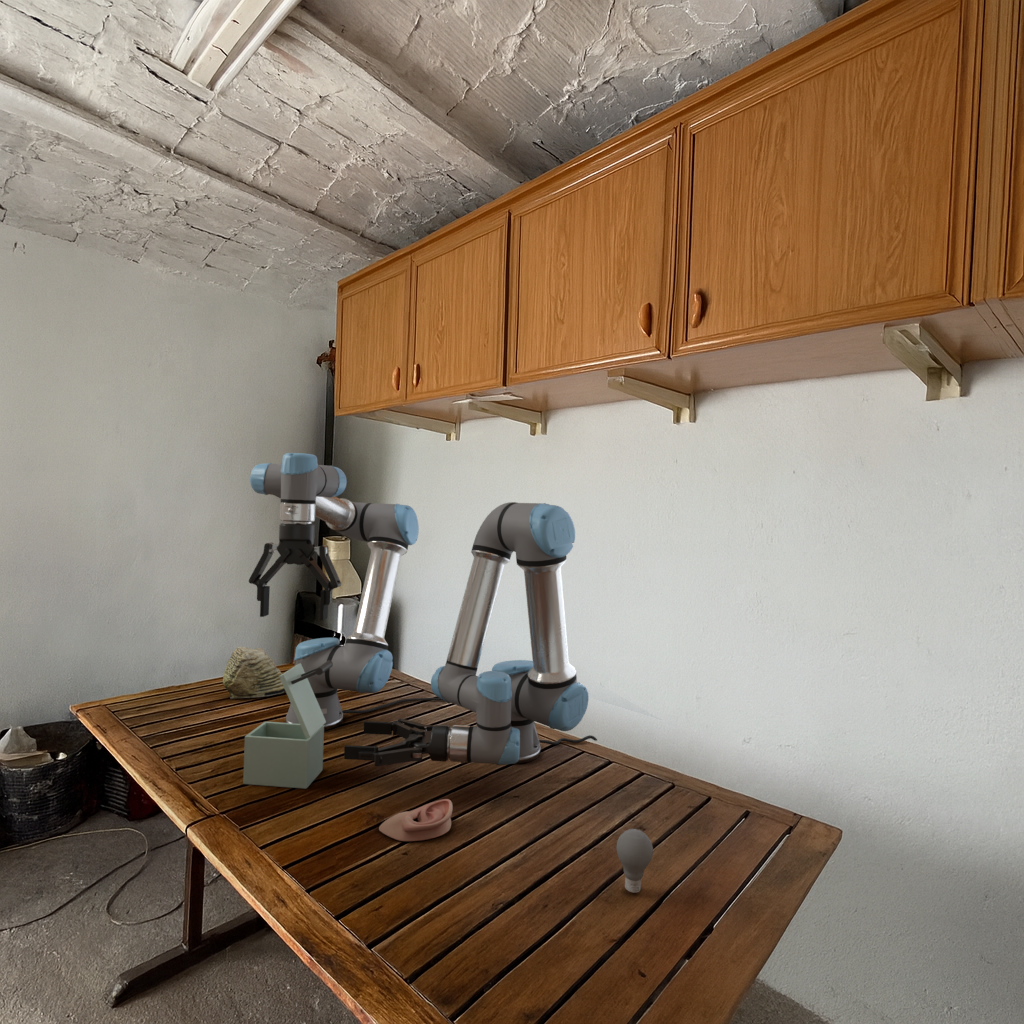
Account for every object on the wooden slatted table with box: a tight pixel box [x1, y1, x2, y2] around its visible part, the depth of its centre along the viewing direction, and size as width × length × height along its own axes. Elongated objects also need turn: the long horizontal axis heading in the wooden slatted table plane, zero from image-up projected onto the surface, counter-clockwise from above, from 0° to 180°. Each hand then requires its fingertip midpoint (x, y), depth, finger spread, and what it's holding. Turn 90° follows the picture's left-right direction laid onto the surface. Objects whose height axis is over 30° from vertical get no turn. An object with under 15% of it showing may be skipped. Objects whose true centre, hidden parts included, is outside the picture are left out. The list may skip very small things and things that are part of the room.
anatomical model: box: [378, 798, 454, 842], centre depth 123 cm, size 13×4×12 cm
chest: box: [242, 721, 325, 789], centre depth 142 cm, size 14×10×10 cm
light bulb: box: [615, 828, 654, 894], centre depth 106 cm, size 6×6×10 cm
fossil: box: [222, 646, 286, 699], centre depth 198 cm, size 9×18×15 cm, turn 132°
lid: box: [279, 660, 333, 739], centre depth 141 cm, size 15×10×9 cm
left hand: (293, 617), depth 142 cm, fingers open, 13 cm apart
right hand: (354, 739), depth 141 cm, fingers open, 13 cm apart
